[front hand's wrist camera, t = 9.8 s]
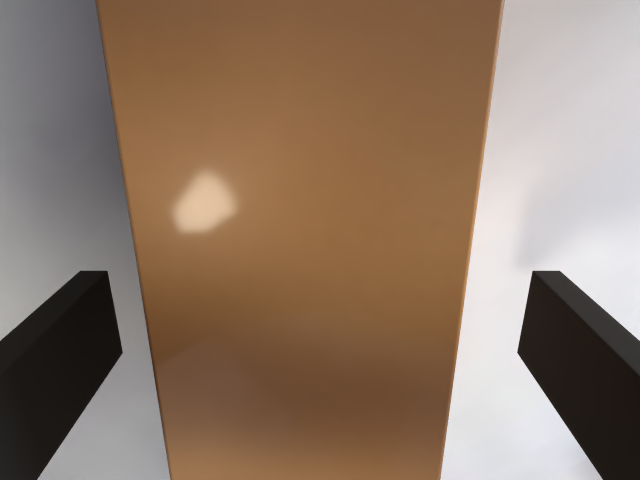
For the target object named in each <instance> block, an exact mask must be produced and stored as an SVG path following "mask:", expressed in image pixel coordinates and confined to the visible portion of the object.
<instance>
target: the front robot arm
mask: <svg viewBox="0 0 640 480" xmlns="http://www.w3.org/2000/svg"><path fill="white" fill-rule="evenodd" d="M122 353H123V351H122V346H121V341H120V336H119V330H118V325H117V320H116V314H115V309H114V304H113V298H112V293H111V288H110V282H109V277H108V272H107V271H80V272H78V273H77V274H76V275H75V276H74V277H73V278H72V279H70V280H69V281H68V282H67V283H66V284H65V285H64V286H63V287H61V288H60V289H59V290H58V291H57V292H56V293H55V294H53V295H52V296H51V297H50V298H49V299H48V300H47V301H45V302H44V303H43V304H42V305H41V306H40V307H39V308H37V309H36V310H35V311H34V312H33V313H32V314H31V315H29V316H28V317H27V318H26V319H25V320H24V321H23V322H21V323H20V324H19V325H18V326H17V327H16V328H15V329H13V330H12V331H11V332H10V333H9V334H8V335H7V336H6V337H4V338H3V339H2V340H1V341H0V480H37V479H38V477H39V476H40V474H41V473H42V471H43V470H44V468H45V467H46V466H47V464H48V463H49V461H50V460H51V458H52V457H53V455H54V454H55V452H56V451H57V449H58V448H59V446H60V445H61V443H62V442H63V440H64V439H65V437H66V436H67V434H68V433H69V431H70V430H71V428H72V427H73V426H74V424H75V423H76V421H77V420H78V418H79V417H80V415H81V414H82V412H83V411H84V409H85V408H86V406H87V405H88V403H89V402H90V400H91V399H92V397H93V396H94V394H95V393H96V391H97V390H98V389H99V387H100V386H101V384H102V383H103V381H104V380H105V378H106V377H107V375H108V374H109V372H110V371H111V369H112V368H113V366H114V365H115V363H116V362H117V360H118V359H119V357H120V356H121V354H122ZM517 353H518V354H519V356H520V357H521V359H522V360H523V362H524V363H525V365H526V366H527V368H528V369H529V371H530V372H531V374H532V375H533V377H534V378H535V380H536V381H537V383H538V384H539V386H540V387H541V389H542V390H543V391H544V393H545V394H546V396H547V397H548V399H549V400H550V402H551V403H552V405H553V406H554V408H555V409H556V411H557V412H558V414H559V415H560V417H561V418H562V420H563V421H564V423H565V424H566V426H567V427H568V428H569V430H570V431H571V433H572V434H573V436H574V437H575V439H576V440H577V442H578V443H579V445H580V446H581V448H582V449H583V451H584V452H585V454H586V455H587V457H588V458H589V460H590V461H591V463H592V464H593V465H594V467H595V468H596V470H597V471H598V473H599V474H600V476H601V477H602V479H603V480H640V341H639V340H638V339H637V338H636V337H634V336H633V335H632V334H631V333H630V332H629V331H628V330H627V329H625V328H624V327H623V326H622V325H621V324H620V323H619V322H617V321H616V320H615V319H614V318H613V317H612V316H611V315H609V314H608V313H607V312H606V311H605V310H604V309H603V308H601V307H600V306H599V305H598V304H597V303H596V302H595V301H593V300H592V299H591V298H590V297H589V296H588V295H587V294H585V293H584V292H583V291H582V290H581V289H580V288H579V287H578V286H576V285H575V284H574V283H573V282H572V281H571V280H570V279H568V278H567V277H566V276H565V275H564V274H563V273H562V272H560V271H533V272H532V277H531V282H530V288H529V293H528V298H527V304H526V309H525V314H524V320H523V325H522V330H521V336H520V341H519V346H518V352H517Z"/></svg>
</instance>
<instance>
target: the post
mask: <svg viewBox="0 0 640 480" xmlns="http://www.w3.org/2000/svg"><path fill="white" fill-rule="evenodd" d="M504 1H505V0H96V7H97V13H98V20H99V26H100V32H101V39H102V45H103V51H104V58H105V64H106V71H107V77H108V83H109V90H110V96H111V103H112V109H113V115H114V122H115V128H116V134H117V141H118V147H119V154H120V160H121V166H122V173H123V179H124V185H125V192H126V198H127V205H128V211H129V217H130V224H131V230H132V237H133V243H134V249H135V256H136V262H137V268H138V275H139V281H140V288H141V294H142V300H143V307H144V313H145V320H146V326H147V332H148V339H149V345H150V351H151V358H152V364H153V371H154V377H155V383H156V390H157V396H158V402H159V409H160V415H161V422H162V428H163V434H164V441H165V447H166V454H167V460H168V466H169V473H170V479H171V480H440V477H441V469H442V462H443V455H444V447H445V440H446V432H447V425H448V417H449V410H450V402H451V395H452V388H453V380H454V373H455V365H456V358H457V350H458V343H459V335H460V328H461V321H462V313H463V306H464V298H465V291H466V283H467V276H468V268H469V261H470V254H471V246H472V239H473V231H474V224H475V216H476V209H477V201H478V194H479V187H480V179H481V172H482V164H483V157H484V149H485V142H486V134H487V127H488V120H489V112H490V105H491V97H492V90H493V82H494V75H495V68H496V60H497V53H498V45H499V38H500V30H501V23H502V15H503V8H504Z"/></svg>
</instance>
